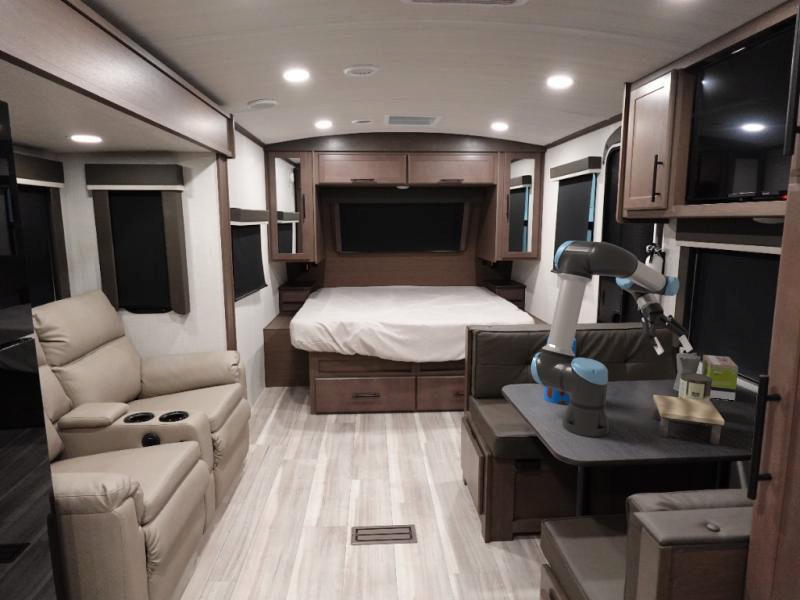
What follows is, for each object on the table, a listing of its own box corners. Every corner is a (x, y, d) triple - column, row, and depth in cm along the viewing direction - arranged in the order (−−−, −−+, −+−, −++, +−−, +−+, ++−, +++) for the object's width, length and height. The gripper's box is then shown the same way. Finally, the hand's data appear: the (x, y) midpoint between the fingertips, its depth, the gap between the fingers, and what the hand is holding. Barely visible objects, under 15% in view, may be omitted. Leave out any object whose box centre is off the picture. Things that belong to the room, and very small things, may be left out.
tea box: (698, 386, 216) (702, 353, 213) (725, 389, 212) (730, 356, 210) (706, 398, 202) (710, 363, 199) (735, 401, 198) (739, 366, 196)
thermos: (575, 404, 193) (580, 342, 189) (547, 404, 193) (551, 341, 189) (566, 394, 204) (571, 335, 200) (540, 394, 204) (544, 334, 200)
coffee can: (698, 407, 192) (702, 372, 189) (714, 418, 181) (718, 381, 179) (671, 407, 192) (674, 372, 189) (685, 418, 182) (689, 380, 179)
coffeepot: (688, 396, 203) (693, 354, 200) (665, 390, 211) (669, 348, 208) (706, 389, 212) (711, 348, 209) (683, 383, 220) (687, 343, 217)
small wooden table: (658, 436, 165) (661, 412, 164) (651, 416, 182) (653, 394, 181) (721, 445, 159) (724, 420, 158) (707, 424, 176) (710, 401, 175)
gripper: (669, 310, 212) (695, 354, 200) (619, 313, 205) (643, 359, 193) (680, 300, 206) (707, 345, 194) (630, 303, 199) (654, 349, 187)
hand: (675, 352), depth 194 cm, fingers open, 13 cm apart
